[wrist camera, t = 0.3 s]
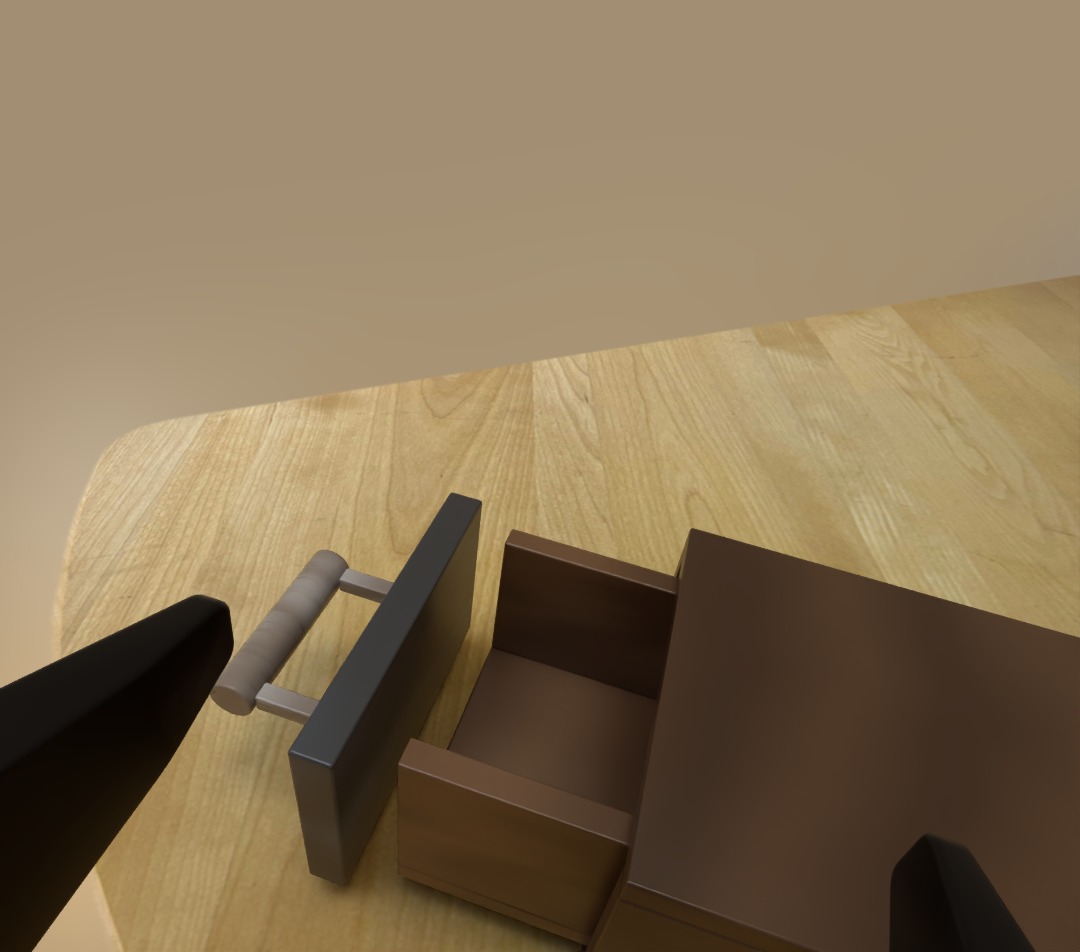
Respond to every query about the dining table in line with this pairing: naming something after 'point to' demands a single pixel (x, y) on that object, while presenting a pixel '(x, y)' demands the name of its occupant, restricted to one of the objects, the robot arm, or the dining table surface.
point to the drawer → (475, 719)
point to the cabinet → (842, 760)
